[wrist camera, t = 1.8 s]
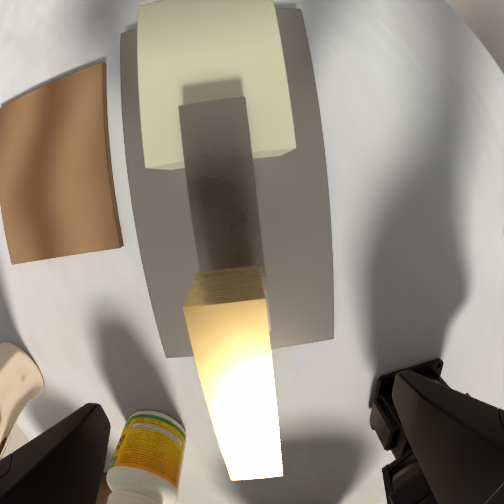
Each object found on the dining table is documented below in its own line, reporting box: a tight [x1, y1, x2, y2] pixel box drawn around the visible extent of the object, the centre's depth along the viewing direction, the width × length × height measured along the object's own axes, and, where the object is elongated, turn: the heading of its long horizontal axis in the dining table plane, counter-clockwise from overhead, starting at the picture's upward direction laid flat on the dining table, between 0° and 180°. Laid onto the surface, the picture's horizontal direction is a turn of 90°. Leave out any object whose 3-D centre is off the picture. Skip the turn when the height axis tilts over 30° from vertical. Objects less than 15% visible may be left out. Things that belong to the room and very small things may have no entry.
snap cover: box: [137, 0, 296, 170], centre depth 12 cm, size 6×8×4 cm
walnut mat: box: [0, 63, 124, 265], centre depth 16 cm, size 10×12×1 cm
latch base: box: [120, 9, 334, 358], centre depth 16 cm, size 11×21×1 cm, turn 6°
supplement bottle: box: [106, 411, 186, 504], centre depth 17 cm, size 5×5×10 cm
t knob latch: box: [178, 96, 283, 480], centre depth 11 cm, size 3×12×10 cm, turn 7°
